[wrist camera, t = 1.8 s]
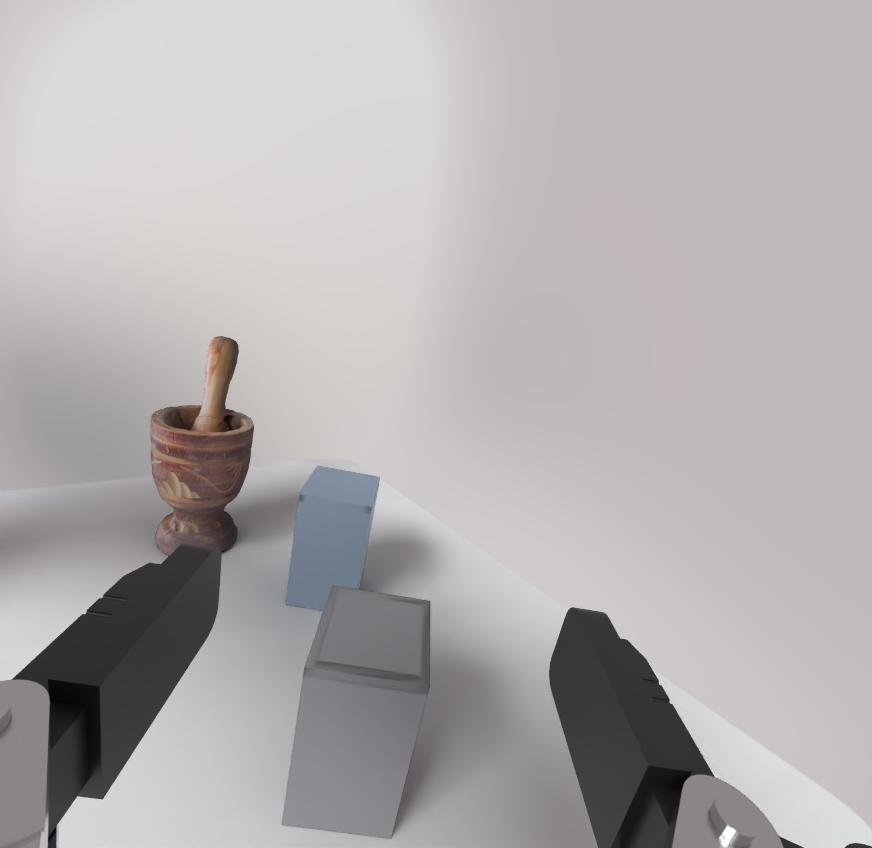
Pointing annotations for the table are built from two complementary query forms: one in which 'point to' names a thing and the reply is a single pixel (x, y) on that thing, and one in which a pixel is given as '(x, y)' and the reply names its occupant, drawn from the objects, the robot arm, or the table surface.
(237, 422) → the mortar and pestle
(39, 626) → the table surface
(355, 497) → the light blue box
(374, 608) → the cover
